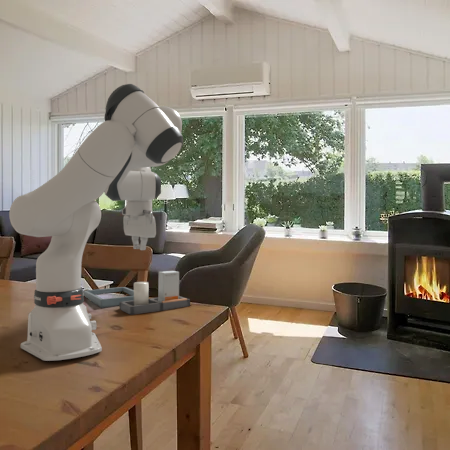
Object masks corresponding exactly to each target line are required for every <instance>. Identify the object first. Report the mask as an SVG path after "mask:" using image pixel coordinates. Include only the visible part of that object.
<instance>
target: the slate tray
mask: <svg viewBox="0 0 450 450" xmlns="http://www.w3.org/2000/svg"><path fill="white" fill-rule="evenodd" d="M117 292H118V293H119V292H124V293H126V294H128V295H127V296H118V297H108V298H101V297H100V296H98V295H104V294H103V293H105V294H112V293H117ZM83 293H84V296H85V297H84V298H86V299H87V298H88V299H87V300H89V301H90V300H91V301H90V302H92V303H93V304H94V305H96V306H97V305H98V306H97V307H99V309H100V308H101V309H105V308H111V307H116V306H117V307H118V306H119V302H123V301H132V300H134V289H132V288H129V287H126V286H119V287H118V286H117V287H109V288H98V289H89V290H88V289H87V290H83ZM95 294H97V295H95Z"/></svg>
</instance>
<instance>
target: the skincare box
mask: <svg viewBox="0 0 450 450" xmlns="http://www.w3.org/2000/svg"><path fill="white" fill-rule="evenodd" d="M157 280H158V291H157V292H158V297H157V298H158V301H159V302H162V301H167V300H175V299H179V296H180V271H178V270H177V271H176V270H164V271H158V279H157Z"/></svg>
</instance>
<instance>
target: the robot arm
mask: <svg viewBox="0 0 450 450" xmlns="http://www.w3.org/2000/svg"><path fill="white" fill-rule="evenodd" d="M103 119H104V121H103V122H102V123H100V124H99V125H98V126H97V127H96V128H95V129H93V131H91V133H90V134H89V135H88V136H87V137H86V138H85V139H84V140H83V142H82V143H81V144H80V146H79V147H78V148H77V150H76V151H75V152H74V154H73V155H72V156H71V158H70V159H69V161H68V162H67V163H66V164H65V166H64V167H63V168H62V169H61V170H60V171H59V172H58V173H56V175H54V176H53V177H52V178H50V179H49V180H47V181H46V182H45V183H43V184H42V185H41V186H39V187H37V188H35V189H34V190H32V191H29V192H28V193H25V194H22V195H19V196H17V197H16V198H15V199H14V200H13V201H12V203H11V205H10V208H9V213H8V215H9V216H8V217H9V221H10V224H11V226H12V228H13V230H15V231H16V233H18V234H20V235H25V236H28V237H34V238H42V237H43V238H44V237H46V238H47V237H51V239H50V243H49V244H48V247H47V248H46V249H45V251H43V252H42V253H41V254H40V255H39V256H38V257H37V259H36V262H35V280H36V281H35V284H36V285H35V288H36V289H35V290H34V292H33V293H34V294H33V299H34V300H33V301H34V302H33V303H34V304H35V305H34V307H33V308H32V310H31V311H30V312H29V313H28V315H27V318H28V319H27V338H26V341H23V342H21V343H20V349H21V350H24V351H26V352H27V353H29V354H31V355H33V356H34V357H36V358H38V359H40V360H41V361H47V362H48V361H49V362H50V361H54V362H55V361H62V360H71V359H77V358H81V357H82V358H83V357H86V356H90V355H94V354H97V353H100V352H102V351H103V350H102V348H103V347H102V345H101V343H100V341H99V339H98V337H97V334H96V333H95V332H92V331H93V330H94V331H95V330H97V326H98V325H97V321H96V320H91V319H92V313H89V312H88V310H87V307H88V306H86V305H85V304H84V302H85V299H84V298H85V297H84V293H83V291H84V288H83V287H82V264H83V263H82V262H83V254H84V251H85V248H86V245H87V242H88V240H89V238H90V236H91V234H92V233H93V232H94V231H95V230H96V229H97V228H98V227H99V224H100V223H101V220H102V219H101V218H102V211H101V207H100V204H99V203H98V202H97V201H96V200H97V199H99V198H100V197H102V195H103V194H104V195H105V196H106V197H107V198H108V199H110V200H111V201H113V202H121V201H126V205H125V206H124V208H122V211H121V214H122V216H123V232H124V235H125V236H130V237H131V242H132V245H133V250H140V251H146V249H147V243H148V241H149V238H150V239H151V238H152V239H153V238H156V235H157V226H156V225H157V223H156V218H155V216H154V214H153V200H156V199H157V198H158V197H159V196H160V195H161V194H162V179H161V177H160V176H159V174H157V173H156V172H155V171H152V169H151V168H152V167H153V168H155V167H160V166H164V165H165V164H167V163H169V162H170V161H172V159H174V158H175V157H176V156H177V155H178V154H179V152H180V151H181V150H182V148H183V146H184V137H183V134H182V128H183V120H182V117H181V115H180V114H179V112H178V111H177V110H176V109H174V108H172V107H169V106H167V105H162V106H159V105H158V104H157V102H155V101H154V100H153V99H152V98H150V97H149V96H148V95H147V94H146V93H145V92H144V91H143V90H142V88H140V87H138V86H136V85H135V84H133V83H126V84H122V85H120V86H118V87H117V88H115V89H114V90H113V91H112V92H111V93H110V95H109V97H108V99H107V101H106V104H105V113H104V118H103ZM139 239H140V243H139Z"/></svg>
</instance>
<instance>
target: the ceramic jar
mask: <svg viewBox="0 0 450 450" xmlns="http://www.w3.org/2000/svg"><path fill="white" fill-rule="evenodd" d="M149 288H150V287H149V281H136V282H133V290H134V306H136V305H144V304H149V296H150V295H149V292H150V291H149V290H150V289H149Z"/></svg>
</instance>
